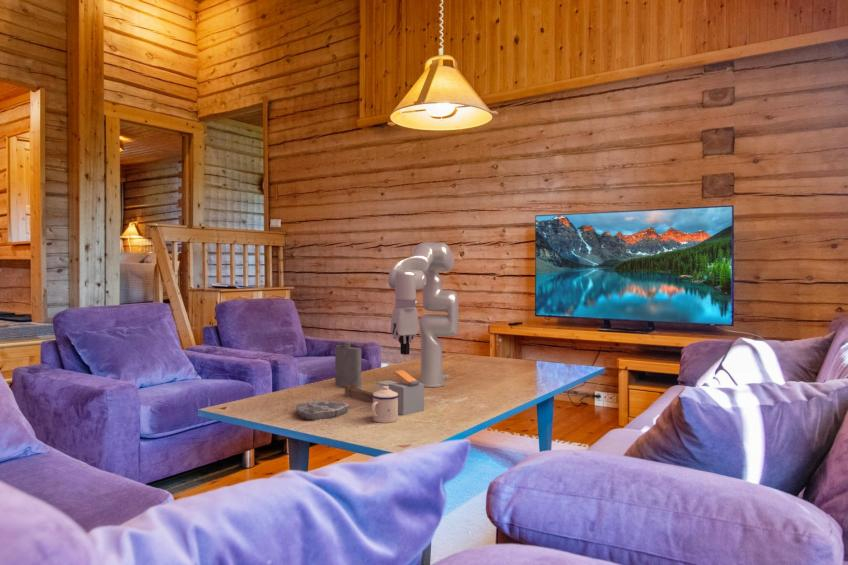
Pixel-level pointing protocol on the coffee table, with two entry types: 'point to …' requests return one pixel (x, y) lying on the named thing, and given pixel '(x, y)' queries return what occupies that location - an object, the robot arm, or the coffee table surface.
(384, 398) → the teacup with lid
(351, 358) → the hip flask
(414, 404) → the cabinet
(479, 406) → the coffee table surface
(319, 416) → the brain slice
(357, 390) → the rail
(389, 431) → the coffee table surface
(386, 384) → the block
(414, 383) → the lever
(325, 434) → the coffee table surface
